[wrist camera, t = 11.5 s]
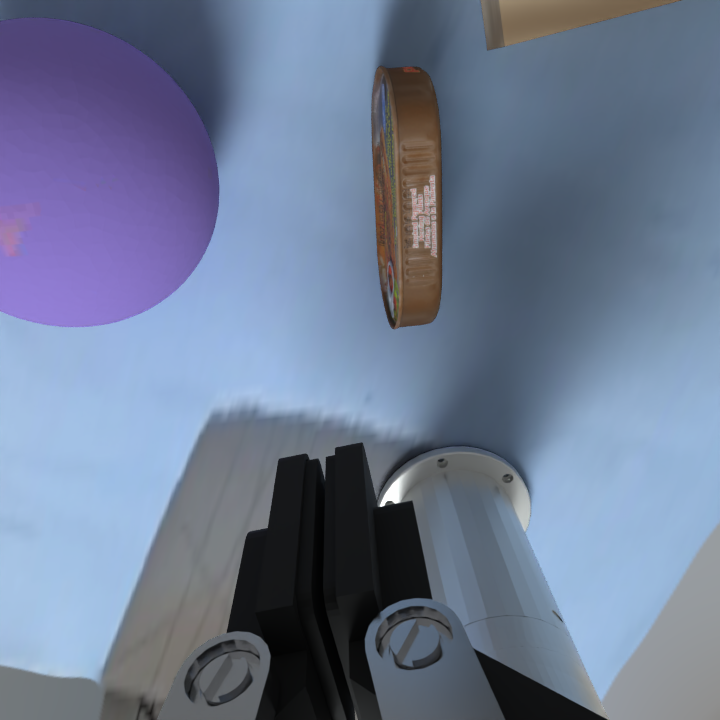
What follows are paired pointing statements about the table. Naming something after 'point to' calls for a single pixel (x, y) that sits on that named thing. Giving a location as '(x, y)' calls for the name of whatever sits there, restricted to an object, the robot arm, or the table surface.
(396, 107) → the tin
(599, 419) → the table surface
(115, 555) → the table surface
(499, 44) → the board
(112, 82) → the decorative ball
